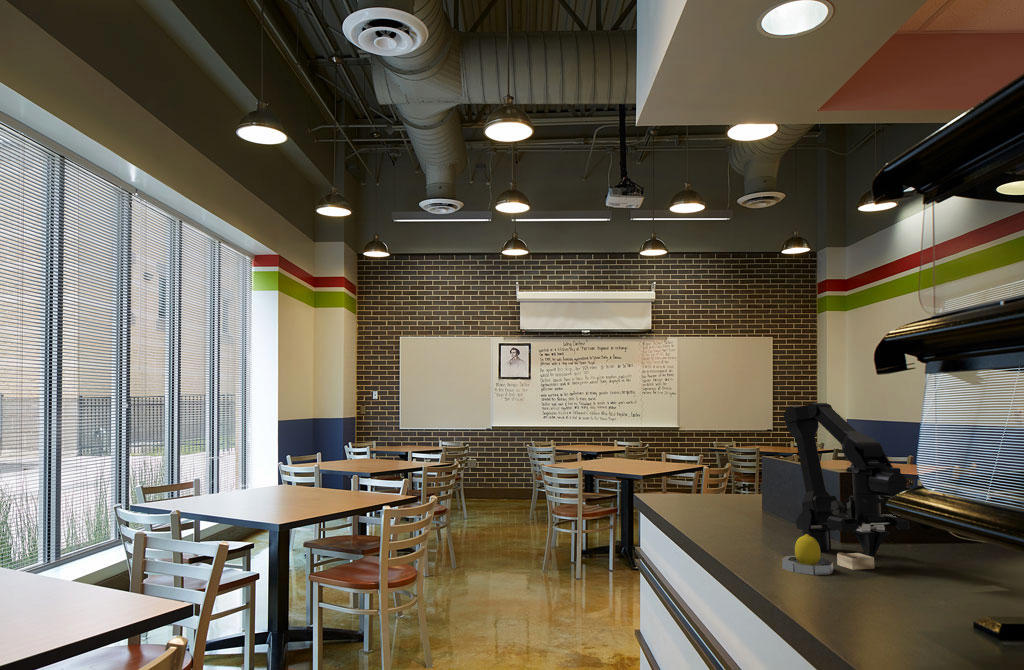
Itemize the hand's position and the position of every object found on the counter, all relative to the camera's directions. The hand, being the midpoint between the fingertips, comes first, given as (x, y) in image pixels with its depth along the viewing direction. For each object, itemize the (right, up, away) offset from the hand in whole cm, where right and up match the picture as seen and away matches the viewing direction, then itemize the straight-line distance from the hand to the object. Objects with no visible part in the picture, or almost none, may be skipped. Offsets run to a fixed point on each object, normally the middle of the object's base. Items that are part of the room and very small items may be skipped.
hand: (869, 559), depth 160 cm
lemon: (-16, -1, -4) cm, 17 cm away
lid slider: (-4, -1, -1) cm, 4 cm away
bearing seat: (-16, -1, -4) cm, 17 cm away
